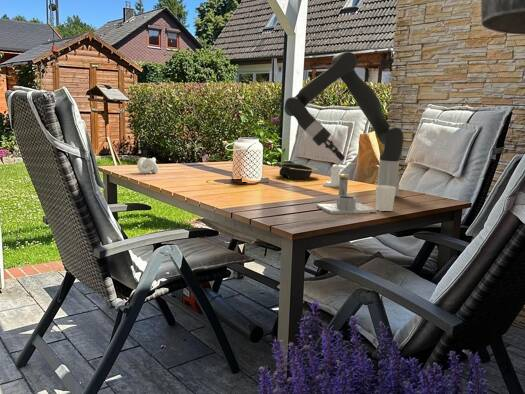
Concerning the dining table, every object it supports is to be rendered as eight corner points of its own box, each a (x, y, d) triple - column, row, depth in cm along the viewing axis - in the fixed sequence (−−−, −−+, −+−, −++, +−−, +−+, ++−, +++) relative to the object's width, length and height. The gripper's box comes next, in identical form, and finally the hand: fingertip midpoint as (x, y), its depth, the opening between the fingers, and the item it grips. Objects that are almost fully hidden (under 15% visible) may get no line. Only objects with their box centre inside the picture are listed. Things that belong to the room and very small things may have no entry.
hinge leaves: (359, 205, 212) (360, 193, 211) (375, 212, 199) (376, 200, 198) (316, 206, 206) (317, 194, 205) (330, 214, 193) (331, 201, 192)
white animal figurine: (140, 174, 278) (140, 159, 277) (134, 172, 288) (134, 156, 287) (159, 174, 284) (159, 158, 282) (153, 171, 294) (153, 156, 292)
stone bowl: (267, 174, 296) (269, 159, 295) (303, 176, 307) (305, 162, 306) (287, 180, 274) (288, 163, 273) (324, 182, 285) (326, 166, 284)
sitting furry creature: (335, 184, 268) (336, 162, 266) (346, 187, 261) (347, 164, 259) (322, 185, 263) (323, 163, 261) (332, 188, 256) (334, 165, 254)
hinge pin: (344, 200, 224) (346, 173, 222) (349, 201, 220) (350, 175, 218) (335, 200, 223) (337, 174, 221) (339, 202, 219) (341, 175, 216)
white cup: (385, 213, 199) (387, 188, 197) (370, 209, 205) (372, 185, 203) (397, 211, 204) (399, 187, 202) (382, 207, 210) (384, 184, 208)
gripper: (323, 125, 211) (349, 152, 209) (324, 128, 225) (349, 154, 223) (310, 137, 212) (336, 164, 211) (312, 140, 226) (337, 165, 225)
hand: (343, 159), depth 217 cm, fingers open, 8 cm apart
